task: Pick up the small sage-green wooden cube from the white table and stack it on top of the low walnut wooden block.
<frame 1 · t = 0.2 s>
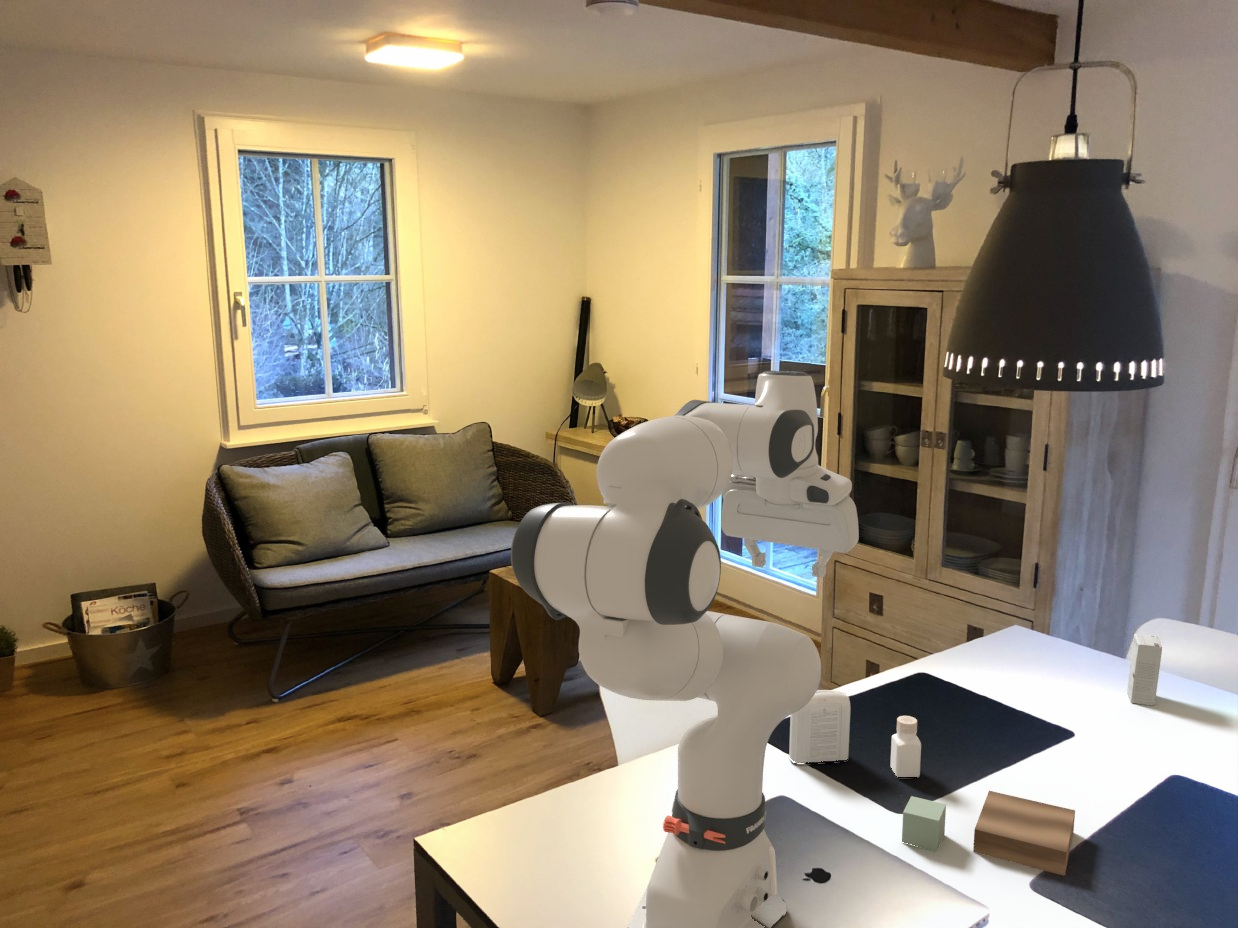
hand: (788, 570, 145), 39 cm above the table, tool pointing down, fingers open, 8 cm apart
salt shaker: (904, 774, 163), on the table
skincare box: (1141, 699, 190), on the table
green cube: (923, 839, 144), on the table
photo printer: (818, 760, 168), on the table
walnut block: (1023, 844, 143), on the table
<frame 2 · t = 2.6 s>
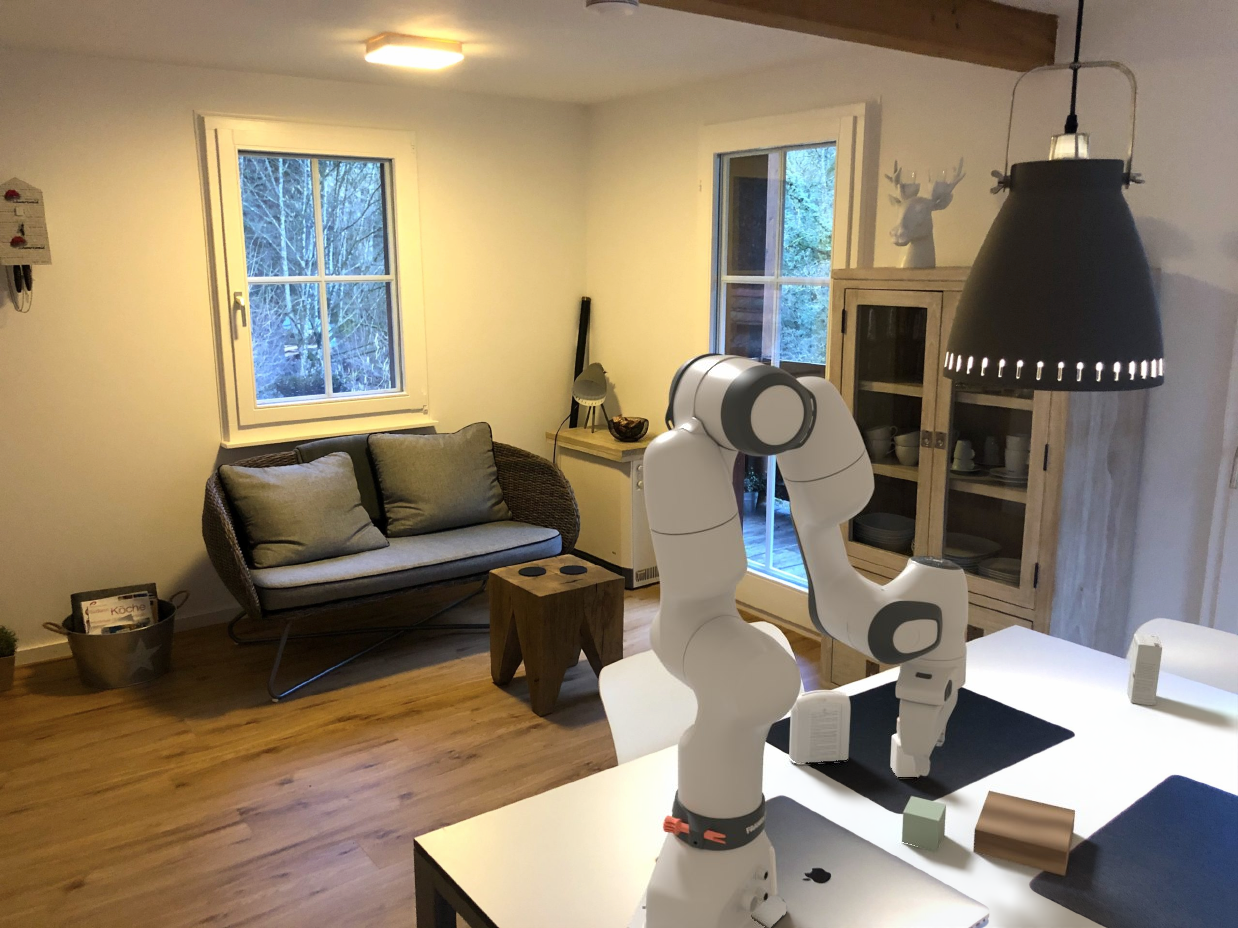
hand: (930, 757, 142), 13 cm above the table, tool pointing down, fingers open, 8 cm apart
nothing on the table moved.
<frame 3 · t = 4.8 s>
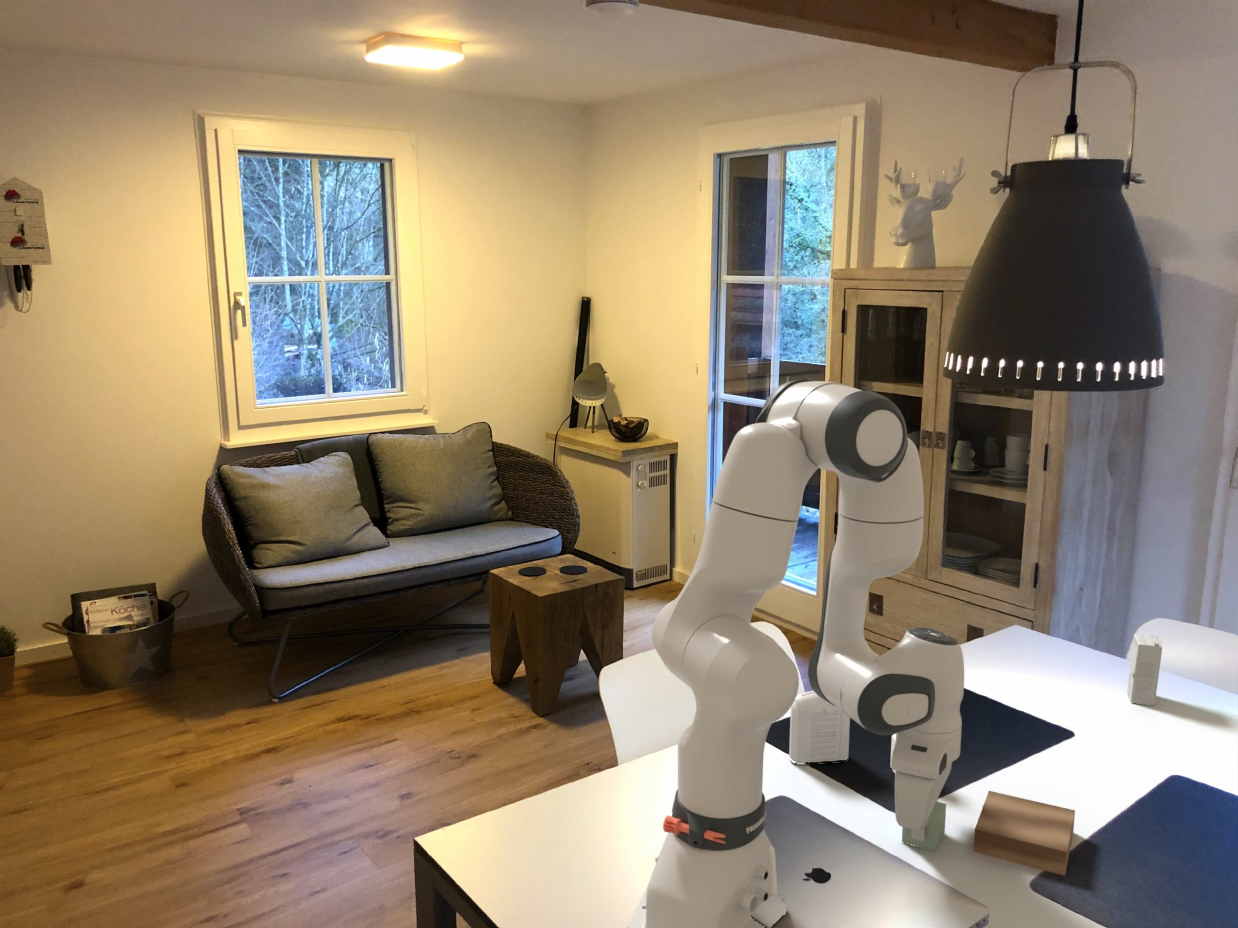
hand: (923, 826, 144), 2 cm above the table, tool pointing down, fingers closed on green cube, 5 cm apart
green cube: (923, 838, 144), on the table, touching gripper
everything else where it was.
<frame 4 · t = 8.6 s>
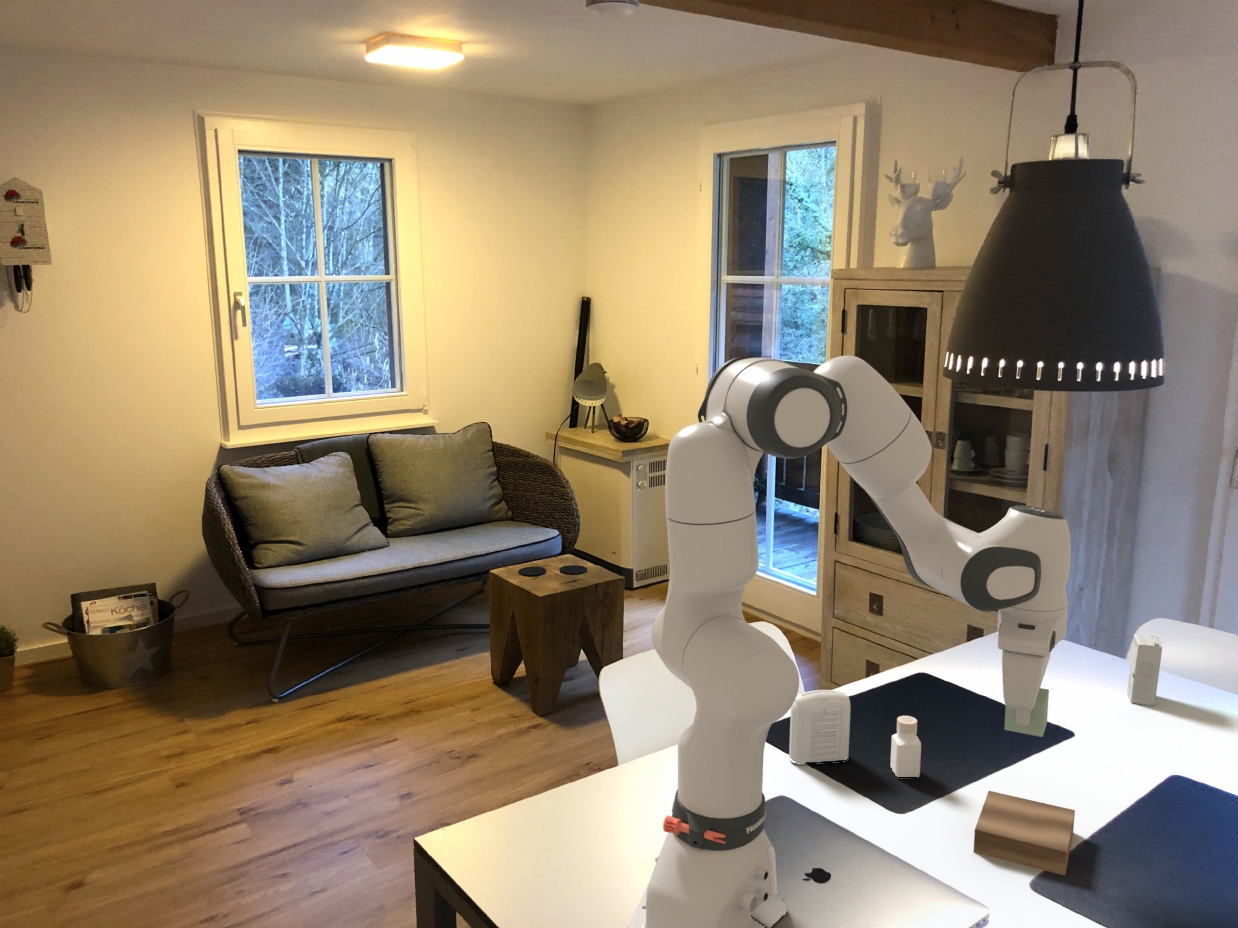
hand: (1026, 713, 139), 20 cm above the table, tool pointing down, fingers closed on green cube, 5 cm apart
green cube: (1025, 725, 140), point 18 cm above the table, touching gripper
everything else where it was.
when the fingers open (7 cm above the table, at t = 12.4 s): green cube drops 2 cm, resting on walnut block.
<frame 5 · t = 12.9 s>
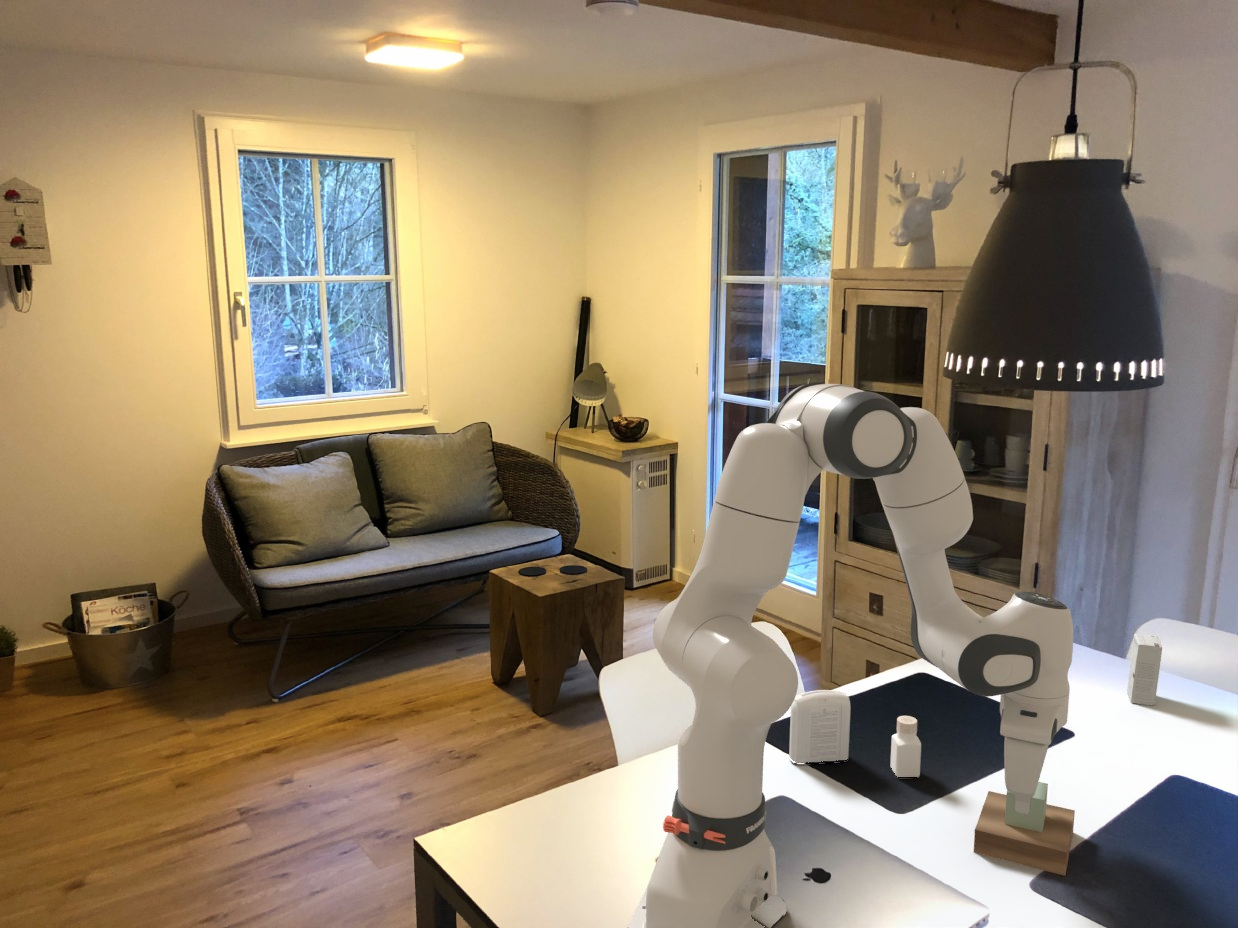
hand: (1027, 795, 142), 7 cm above the table, tool pointing down, fingers open, 8 cm apart
green cube: (1025, 819, 142), point 4 cm above the table, touching walnut block
walnut block: (1023, 844, 143), on the table, touching green cube
everything else where it was.
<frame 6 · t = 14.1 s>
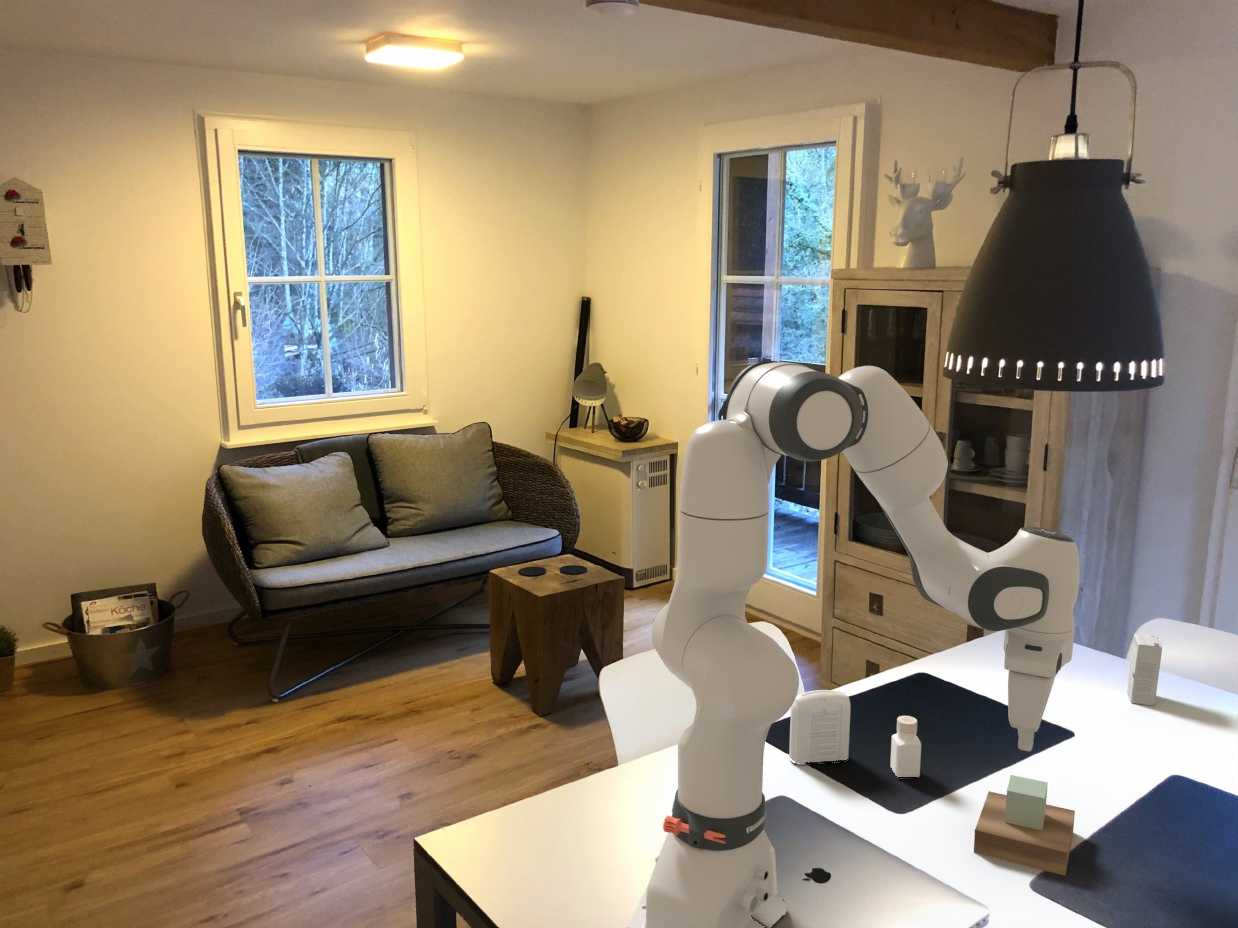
hand: (1030, 734, 140), 17 cm above the table, tool pointing down, fingers open, 8 cm apart
nothing on the table moved.
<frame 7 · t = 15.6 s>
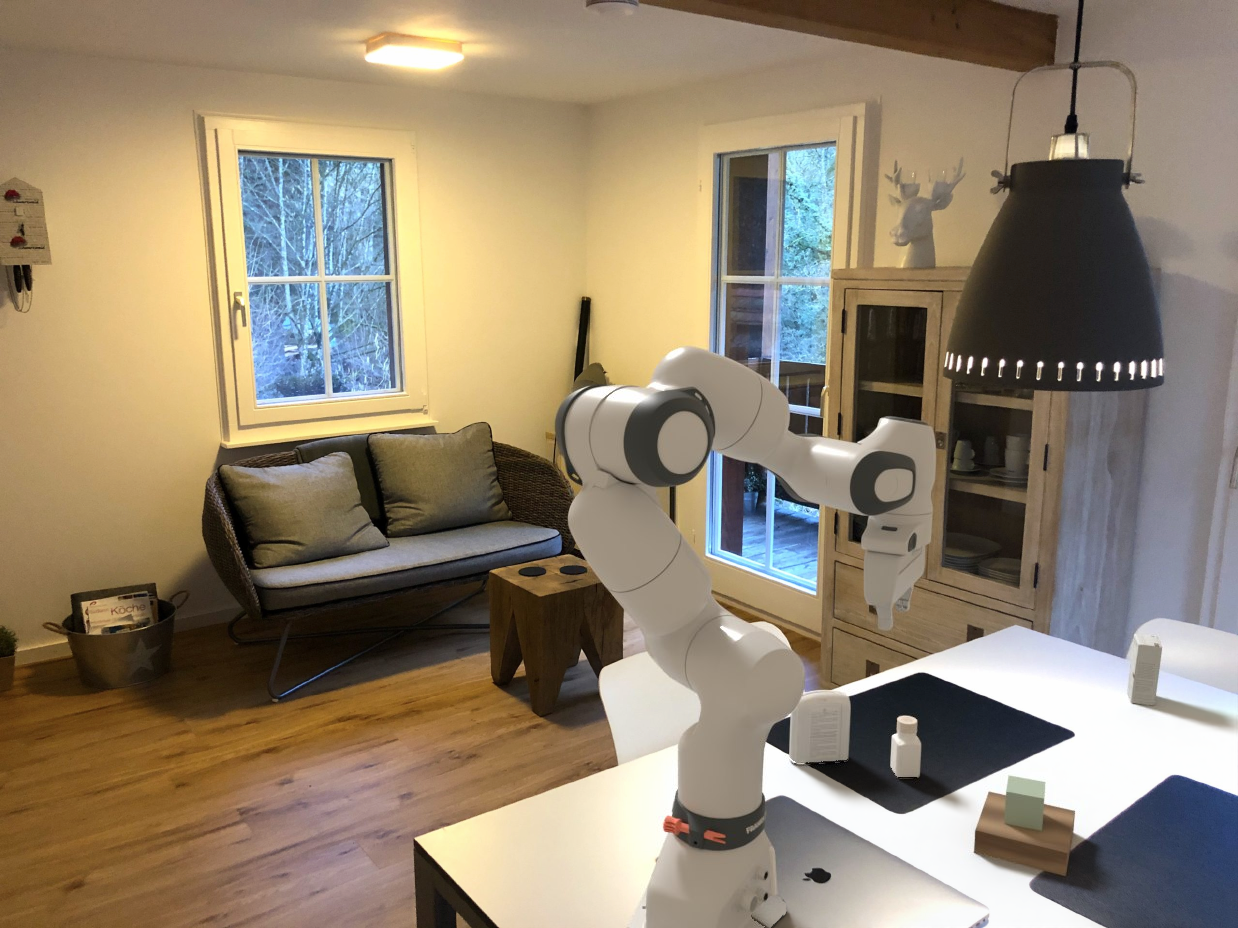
hand: (894, 619, 145), 31 cm above the table, tool pointing down, fingers open, 8 cm apart
nothing on the table moved.
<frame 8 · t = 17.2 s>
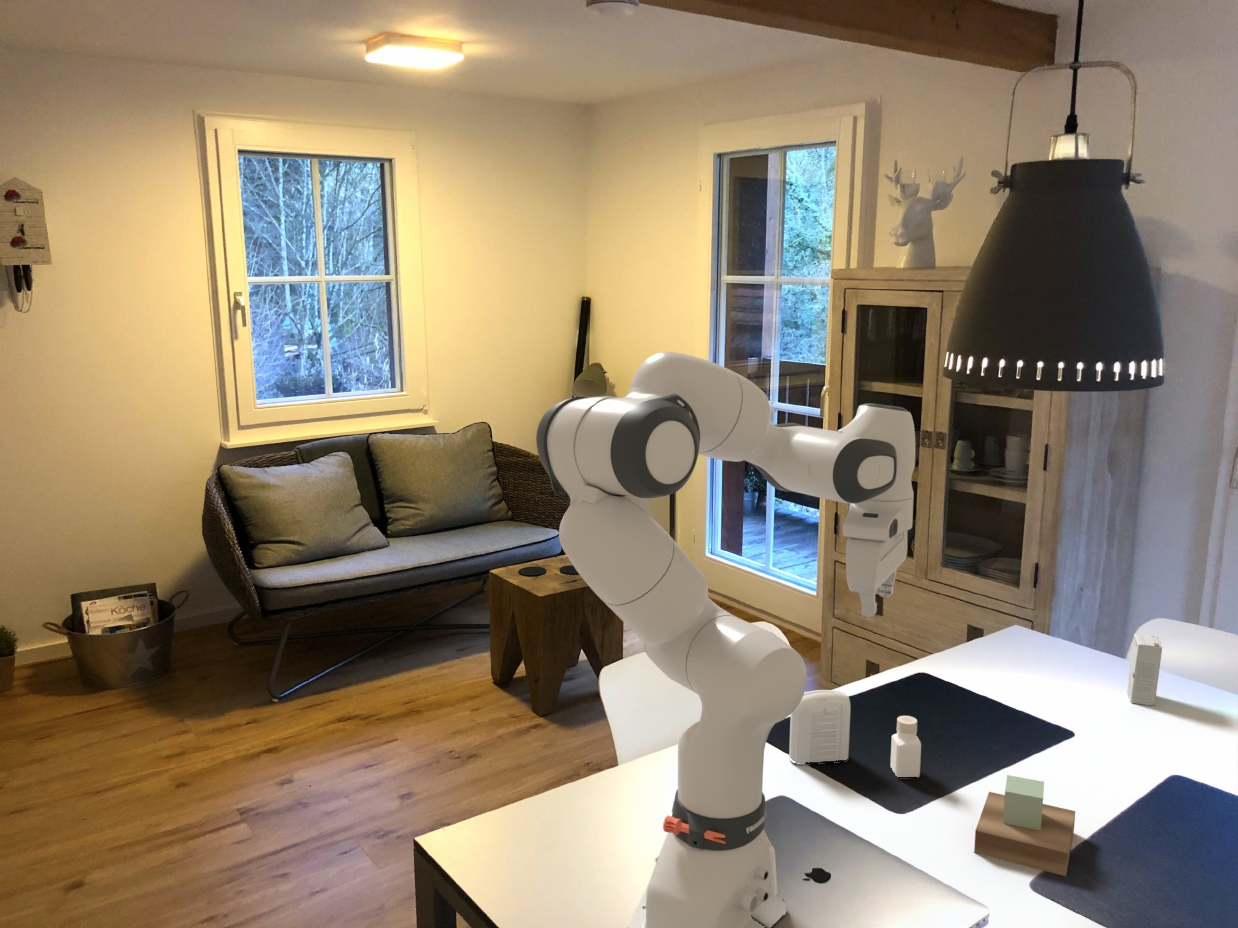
hand: (877, 605, 146), 33 cm above the table, tool pointing down, fingers open, 8 cm apart
nothing on the table moved.
at the end: green cube inside the target area on the walnut block (0.8 cm from its centre), point 4.0 cm above the walnut block's base; green cube tilted 0°; the gripper is holding nothing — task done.
